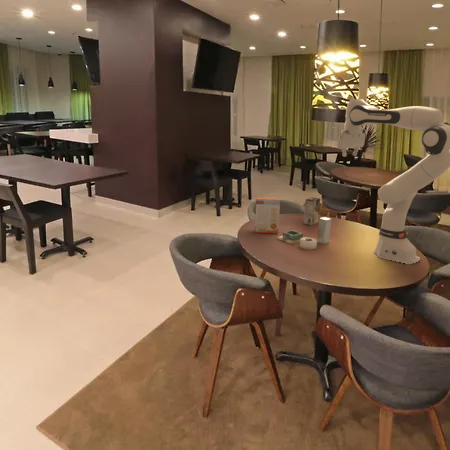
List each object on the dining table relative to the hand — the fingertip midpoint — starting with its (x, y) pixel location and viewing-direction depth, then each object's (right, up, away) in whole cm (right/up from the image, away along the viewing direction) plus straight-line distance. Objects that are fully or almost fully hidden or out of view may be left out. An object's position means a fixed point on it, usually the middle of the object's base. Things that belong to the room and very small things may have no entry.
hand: (349, 156), depth 233 cm
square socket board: (-30, -46, +9) cm, 56 cm away
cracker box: (-44, -42, +21) cm, 64 cm away
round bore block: (-23, -50, -2) cm, 55 cm away
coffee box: (-12, -37, +44) cm, 59 cm away
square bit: (-13, -48, +6) cm, 50 cm away
